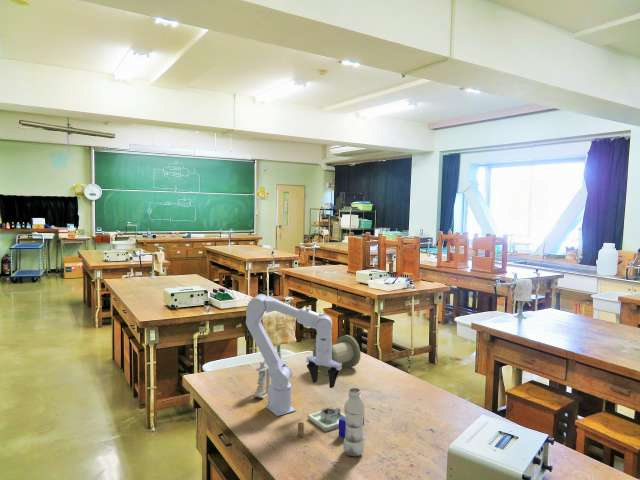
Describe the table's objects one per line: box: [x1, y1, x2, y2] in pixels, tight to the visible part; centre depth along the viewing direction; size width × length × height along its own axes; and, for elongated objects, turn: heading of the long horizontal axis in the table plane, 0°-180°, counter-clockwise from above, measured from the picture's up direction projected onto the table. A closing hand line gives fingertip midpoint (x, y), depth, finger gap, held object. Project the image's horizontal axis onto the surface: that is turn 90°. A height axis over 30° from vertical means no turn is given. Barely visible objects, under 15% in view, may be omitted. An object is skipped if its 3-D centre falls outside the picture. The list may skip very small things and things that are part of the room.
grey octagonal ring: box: [320, 407, 341, 424], centre depth 157 cm, size 6×7×3 cm
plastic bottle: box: [343, 387, 366, 457], centre depth 136 cm, size 6×7×20 cm
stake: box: [297, 422, 305, 438], centre depth 147 cm, size 2×2×4 cm
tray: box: [307, 407, 345, 432], centre depth 157 cm, size 11×11×2 cm
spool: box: [312, 334, 361, 376], centre depth 207 cm, size 16×15×15 cm
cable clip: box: [338, 417, 365, 439], centre depth 150 cm, size 12×4×6 cm, turn 146°
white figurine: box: [251, 360, 271, 399], centre depth 177 cm, size 4×10×15 cm, turn 163°
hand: (323, 384), depth 163 cm, fingers open, 7 cm apart
